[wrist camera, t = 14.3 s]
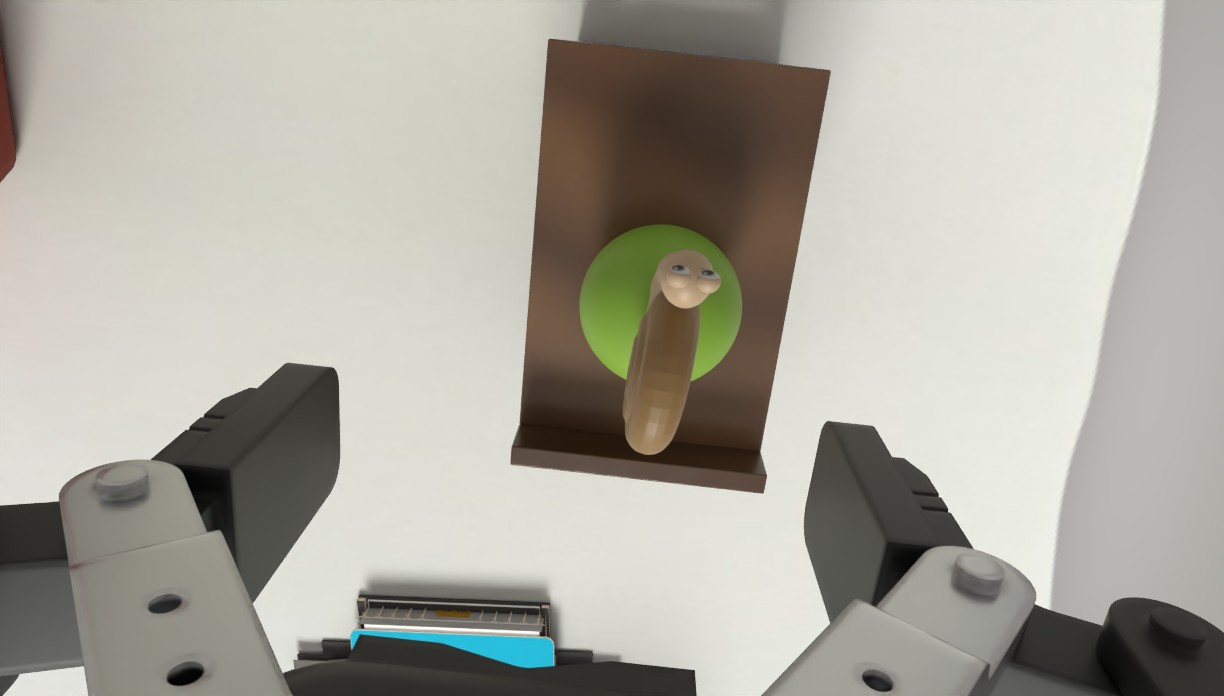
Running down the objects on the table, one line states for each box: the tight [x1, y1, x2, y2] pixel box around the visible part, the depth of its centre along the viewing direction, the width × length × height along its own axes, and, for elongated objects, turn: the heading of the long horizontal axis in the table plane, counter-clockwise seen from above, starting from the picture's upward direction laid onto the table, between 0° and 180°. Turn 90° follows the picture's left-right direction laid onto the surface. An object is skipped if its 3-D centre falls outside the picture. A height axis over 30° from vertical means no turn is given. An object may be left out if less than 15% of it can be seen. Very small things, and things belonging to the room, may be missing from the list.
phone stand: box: [294, 595, 592, 669], centre depth 51 cm, size 20×12×2 cm, turn 89°
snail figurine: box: [579, 224, 742, 455], centre depth 25 cm, size 5×6×12 cm
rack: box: [511, 39, 831, 493], centre depth 35 cm, size 15×10×14 cm, turn 174°
